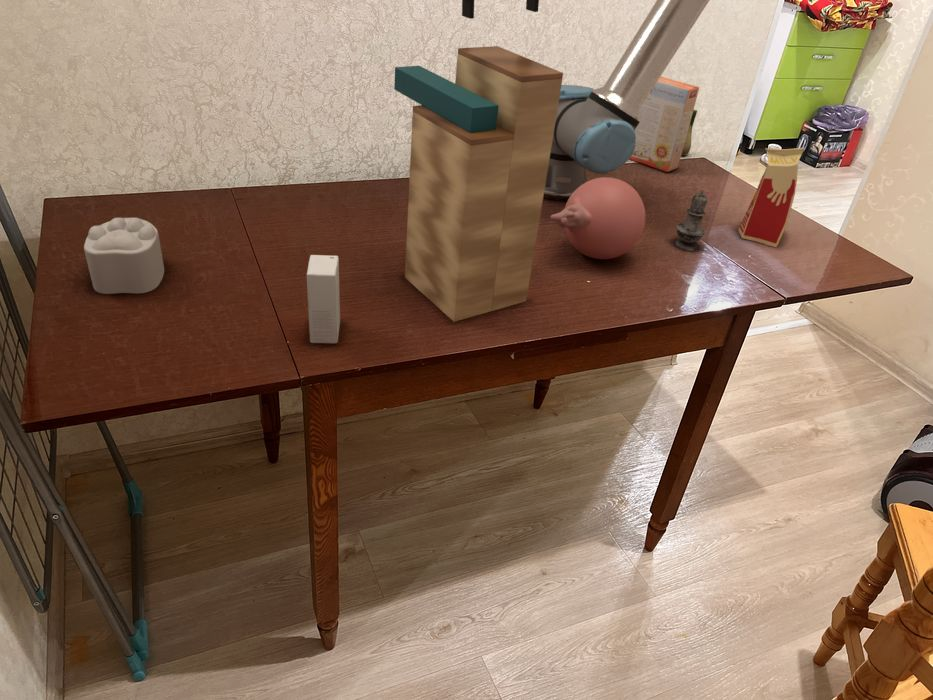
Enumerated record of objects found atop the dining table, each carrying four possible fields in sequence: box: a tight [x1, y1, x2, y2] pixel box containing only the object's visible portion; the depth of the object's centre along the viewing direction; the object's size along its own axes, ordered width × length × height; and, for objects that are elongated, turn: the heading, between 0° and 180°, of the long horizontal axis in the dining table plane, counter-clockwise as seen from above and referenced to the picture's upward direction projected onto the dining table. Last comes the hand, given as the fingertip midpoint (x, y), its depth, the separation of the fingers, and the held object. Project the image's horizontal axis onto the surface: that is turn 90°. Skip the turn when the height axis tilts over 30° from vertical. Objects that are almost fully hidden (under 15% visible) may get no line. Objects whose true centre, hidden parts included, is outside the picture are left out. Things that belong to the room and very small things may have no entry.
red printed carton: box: [737, 147, 806, 249], centre depth 149 cm, size 9×9×20 cm
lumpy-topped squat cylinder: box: [83, 217, 165, 295], centre depth 116 cm, size 10×13×9 cm
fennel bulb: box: [681, 109, 698, 156], centre depth 191 cm, size 6×5×12 cm
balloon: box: [550, 176, 646, 260], centre depth 134 cm, size 15×20×15 cm
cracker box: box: [629, 76, 700, 173], centre depth 181 cm, size 14×6×21 cm, turn 47°
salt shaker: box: [673, 190, 708, 252], centre depth 144 cm, size 6×6×12 cm
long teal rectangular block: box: [393, 65, 499, 133], centre depth 108 cm, size 22×4×4 cm, turn 34°
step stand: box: [404, 45, 564, 323], centre depth 113 cm, size 16×15×38 cm
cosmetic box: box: [306, 254, 341, 344], centre depth 106 cm, size 6×4×12 cm
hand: (500, 14), depth 125 cm, fingers open, 13 cm apart
